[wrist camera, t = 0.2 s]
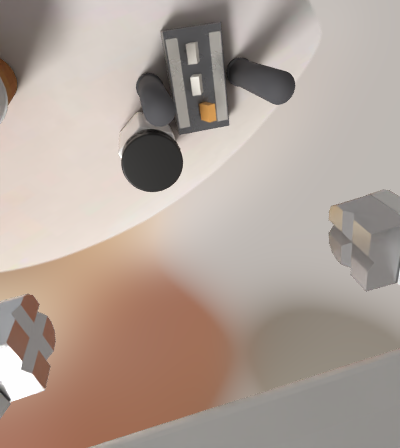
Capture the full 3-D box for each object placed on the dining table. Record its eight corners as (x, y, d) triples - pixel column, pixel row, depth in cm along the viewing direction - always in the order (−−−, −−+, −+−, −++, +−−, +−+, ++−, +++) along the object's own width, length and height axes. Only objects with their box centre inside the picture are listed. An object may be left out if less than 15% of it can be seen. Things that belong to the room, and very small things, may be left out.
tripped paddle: (199, 103, 49) (207, 105, 47) (206, 101, 49) (214, 103, 48) (201, 119, 50) (209, 122, 48) (207, 117, 51) (216, 120, 49)
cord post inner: (133, 75, 49) (137, 94, 35) (160, 70, 49) (174, 87, 36) (139, 103, 51) (145, 131, 37) (165, 98, 51) (180, 124, 38)
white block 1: (188, 42, 45) (185, 44, 43) (197, 41, 45) (194, 43, 43) (191, 62, 46) (188, 64, 44) (199, 61, 46) (197, 63, 44)
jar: (179, 118, 53) (192, 140, 43) (169, 166, 57) (179, 196, 47) (122, 106, 51) (122, 126, 40) (115, 157, 54) (114, 187, 44)
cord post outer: (225, 59, 50) (263, 72, 37) (250, 55, 50) (297, 66, 37) (227, 87, 52) (264, 109, 39) (251, 83, 53) (296, 103, 39)
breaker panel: (160, 31, 46) (162, 31, 44) (215, 22, 47) (221, 22, 45) (176, 129, 54) (179, 135, 51) (224, 120, 55) (229, 125, 52)
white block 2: (193, 74, 47) (190, 77, 45) (201, 73, 47) (198, 76, 45) (195, 92, 48) (192, 95, 47) (203, 91, 48) (201, 94, 46)
